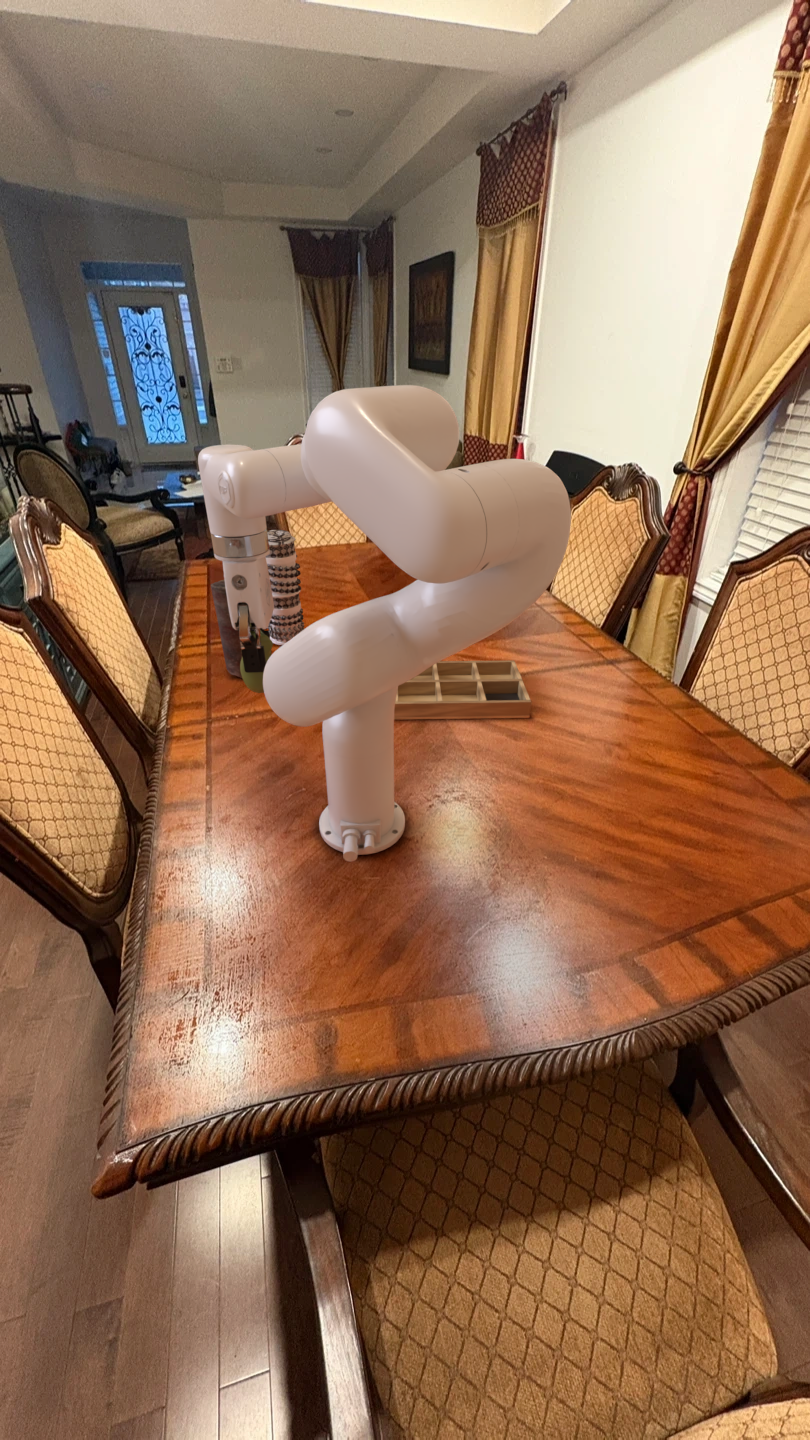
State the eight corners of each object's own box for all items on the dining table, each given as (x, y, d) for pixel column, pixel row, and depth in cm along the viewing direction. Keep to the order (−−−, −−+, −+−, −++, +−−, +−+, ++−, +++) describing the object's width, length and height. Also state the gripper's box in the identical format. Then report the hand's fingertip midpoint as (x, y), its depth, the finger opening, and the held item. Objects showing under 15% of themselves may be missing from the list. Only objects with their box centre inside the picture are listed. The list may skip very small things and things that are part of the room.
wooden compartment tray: (529, 717, 115) (531, 701, 113) (394, 719, 115) (394, 703, 113) (512, 674, 130) (514, 660, 128) (393, 676, 129) (392, 661, 127)
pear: (271, 679, 99) (262, 621, 93) (287, 691, 95) (278, 631, 90) (239, 690, 96) (228, 631, 91) (254, 702, 92) (243, 641, 87)
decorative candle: (264, 633, 148) (250, 529, 135) (301, 627, 151) (291, 525, 138) (272, 648, 141) (258, 540, 127) (311, 641, 144) (301, 535, 131)
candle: (219, 674, 130) (202, 583, 119) (241, 660, 136) (228, 573, 125) (246, 682, 127) (232, 590, 116) (269, 667, 133) (257, 578, 122)
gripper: (259, 561, 76) (277, 688, 86) (275, 527, 91) (289, 639, 100) (199, 563, 76) (223, 690, 86) (224, 529, 91) (243, 641, 100)
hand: (258, 661), depth 93 cm, fingers closed on pear, 5 cm apart
